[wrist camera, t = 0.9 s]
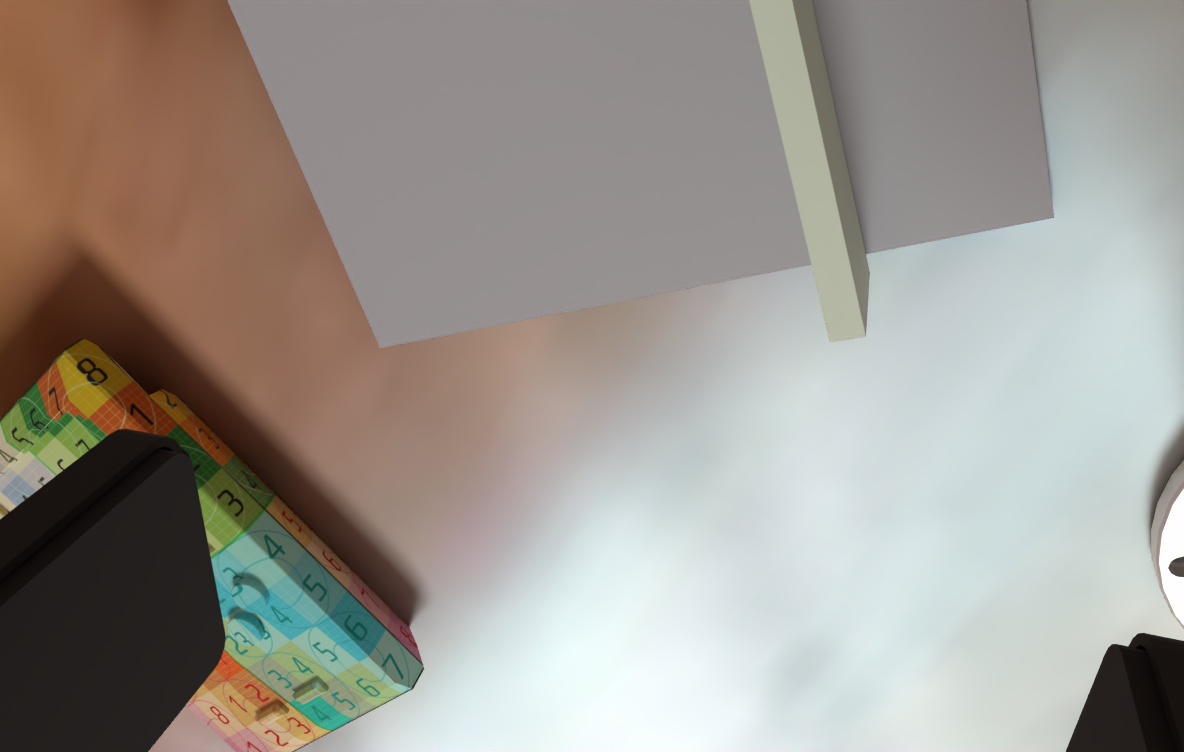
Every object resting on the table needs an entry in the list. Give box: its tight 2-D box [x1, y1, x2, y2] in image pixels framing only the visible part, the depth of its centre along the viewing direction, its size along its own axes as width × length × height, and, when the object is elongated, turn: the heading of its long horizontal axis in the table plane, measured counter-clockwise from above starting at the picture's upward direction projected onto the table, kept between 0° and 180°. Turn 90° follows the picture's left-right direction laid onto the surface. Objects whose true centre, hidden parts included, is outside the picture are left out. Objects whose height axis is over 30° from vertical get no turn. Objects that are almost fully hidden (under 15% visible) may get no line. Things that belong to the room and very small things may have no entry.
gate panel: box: [749, 0, 870, 342], centre depth 27 cm, size 1×14×5 cm, turn 19°
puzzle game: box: [0, 338, 424, 752], centre depth 45 cm, size 12×5×20 cm
